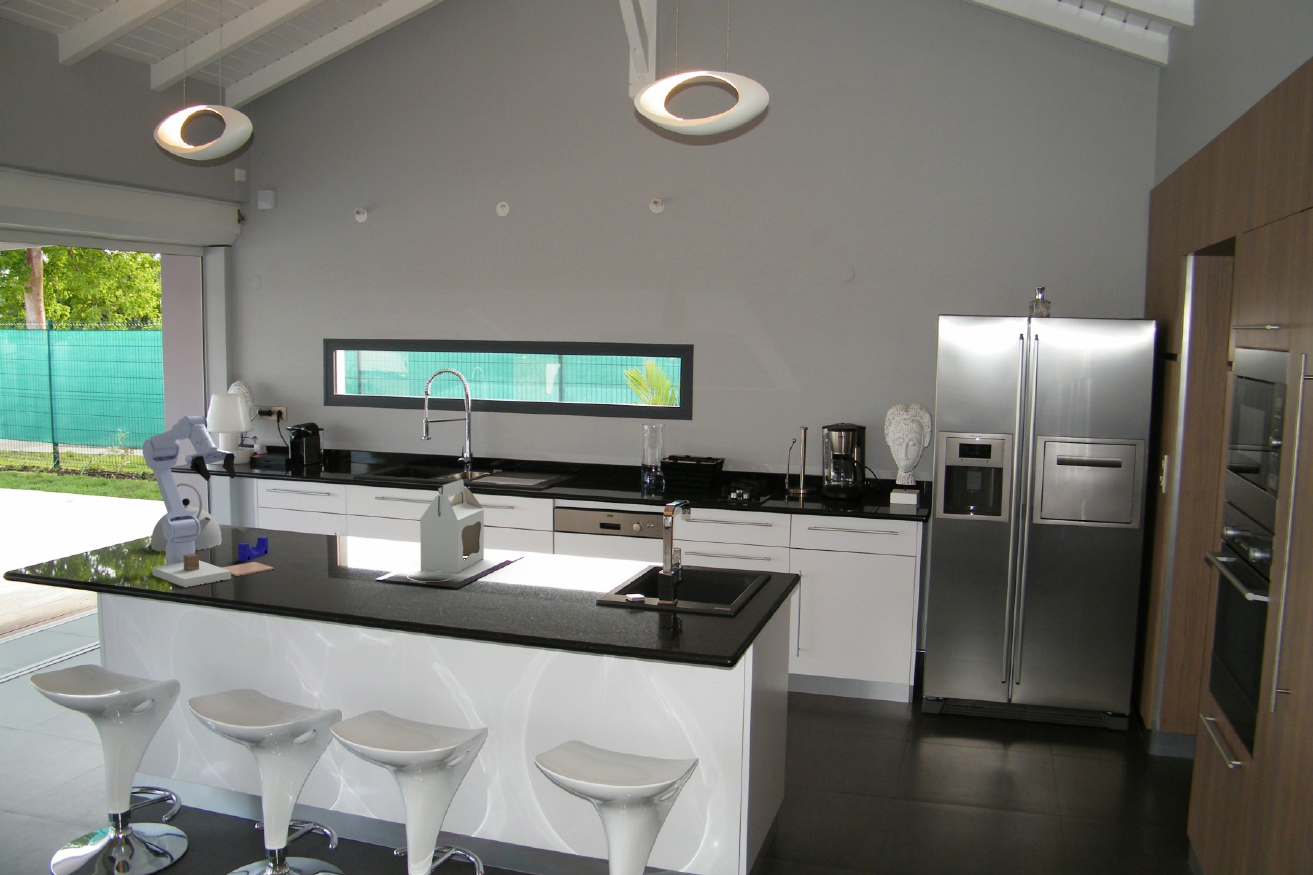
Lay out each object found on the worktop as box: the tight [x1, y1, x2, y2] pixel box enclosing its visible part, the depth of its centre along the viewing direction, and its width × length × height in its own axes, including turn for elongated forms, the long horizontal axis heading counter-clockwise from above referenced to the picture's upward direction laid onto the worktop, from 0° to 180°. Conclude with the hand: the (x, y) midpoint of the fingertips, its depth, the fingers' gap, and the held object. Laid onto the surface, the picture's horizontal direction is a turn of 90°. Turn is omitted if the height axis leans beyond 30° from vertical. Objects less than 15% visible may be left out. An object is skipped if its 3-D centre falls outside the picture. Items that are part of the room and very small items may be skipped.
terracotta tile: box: [221, 561, 275, 577], centre depth 300 cm, size 12×12×1 cm
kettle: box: [150, 482, 223, 552], centre depth 333 cm, size 25×23×22 cm
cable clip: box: [237, 536, 269, 562], centre depth 318 cm, size 12×4×6 cm, turn 169°
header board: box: [152, 559, 232, 588], centre depth 290 cm, size 22×14×2 cm, turn 51°
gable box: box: [419, 478, 485, 573], centre depth 311 cm, size 22×13×28 cm, turn 169°
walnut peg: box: [183, 553, 200, 571], centre depth 289 cm, size 3×3×7 cm
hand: (221, 477), depth 282 cm, fingers open, 7 cm apart
